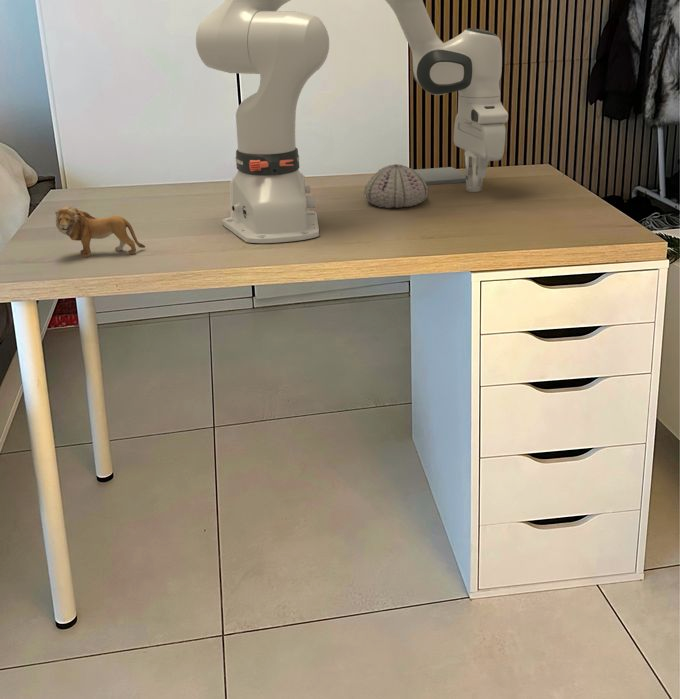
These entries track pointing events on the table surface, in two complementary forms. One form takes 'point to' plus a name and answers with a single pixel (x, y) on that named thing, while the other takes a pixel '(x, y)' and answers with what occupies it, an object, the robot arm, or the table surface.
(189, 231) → the table surface
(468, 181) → the milkshake
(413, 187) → the sea urchin shell
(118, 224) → the lion figurine
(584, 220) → the table surface
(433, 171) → the pad
